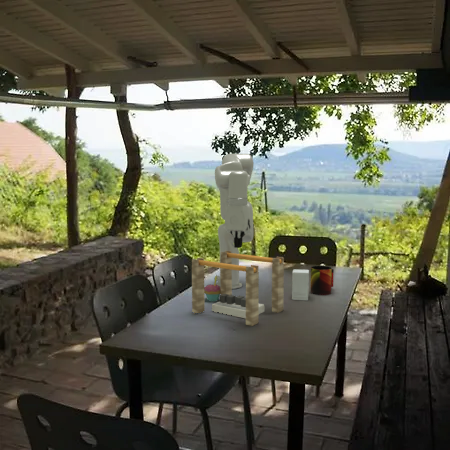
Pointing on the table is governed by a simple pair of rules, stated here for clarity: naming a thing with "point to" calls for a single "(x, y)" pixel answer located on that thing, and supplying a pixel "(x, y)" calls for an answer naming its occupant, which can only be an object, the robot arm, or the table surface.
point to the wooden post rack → (251, 286)
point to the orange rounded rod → (223, 265)
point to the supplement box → (300, 284)
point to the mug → (321, 280)
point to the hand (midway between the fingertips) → (238, 247)
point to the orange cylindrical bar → (250, 257)
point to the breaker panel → (233, 306)
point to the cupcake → (212, 291)
